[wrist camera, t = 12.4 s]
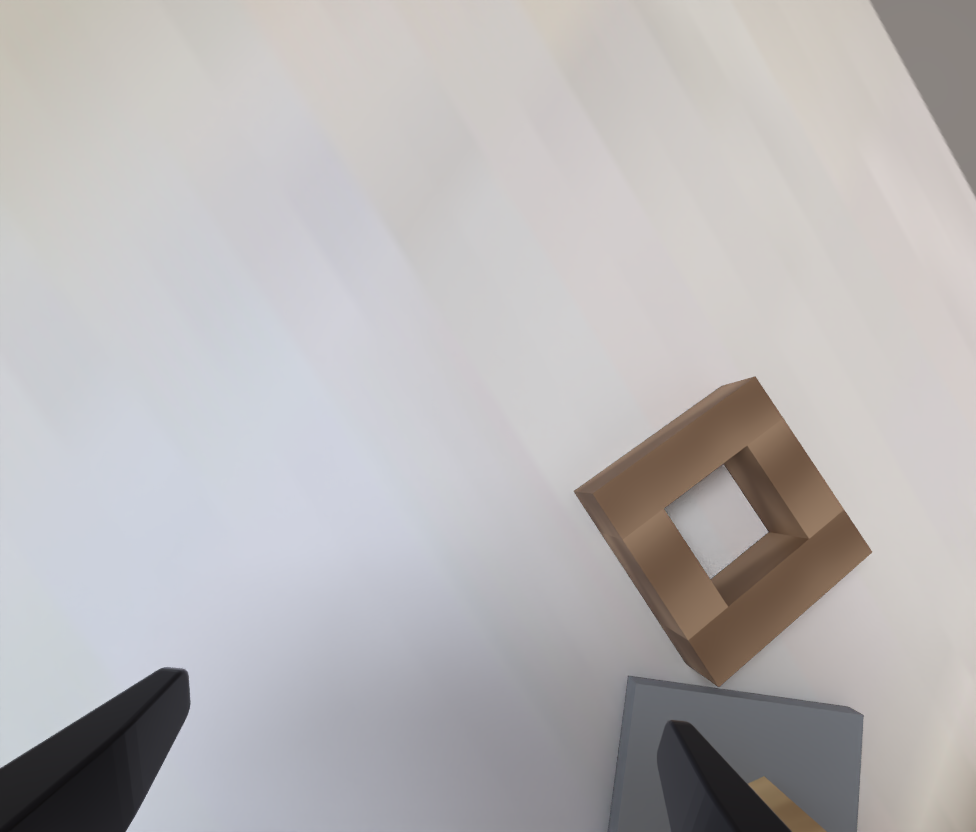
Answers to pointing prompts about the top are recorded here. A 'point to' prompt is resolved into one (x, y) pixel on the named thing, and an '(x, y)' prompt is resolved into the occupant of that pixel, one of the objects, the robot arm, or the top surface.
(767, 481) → the walnut socket block
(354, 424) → the top surface
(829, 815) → the slate mat
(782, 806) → the oak peg
